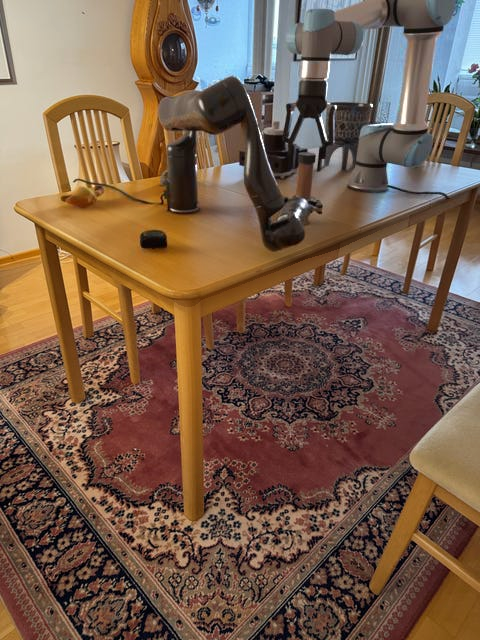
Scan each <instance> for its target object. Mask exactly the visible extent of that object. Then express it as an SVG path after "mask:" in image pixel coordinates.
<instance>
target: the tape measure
mask: <svg viewBox="0 0 480 640" xmlns="http://www.w3.org/2000/svg"><path fill="white" fill-rule="evenodd" d="M167 236H168V235H167V234H166V232H165V231H164V230H161V229H147V230H144V231H143V232H141V233H140V235H139V240H140V241H139V245H140V246H139V247H141V248H142V249H146V250H157V249H167V248H168V240H167V239H168V237H167Z"/></svg>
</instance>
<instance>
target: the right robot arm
mask: <svg viewBox="0 0 480 640" xmlns="http://www.w3.org/2000/svg"><path fill="white" fill-rule="evenodd" d="M456 5H457V4H456V0H362V1H358V2H357V3H354V4H351V5H349V6H346V7H344V8H341V9H339V10H335V11H334V9H332V8H310V9H308V10H306V11H305V13H304V19H303V22H298V23H293V24H291V25H290V26H289V27H288V29H287V31H286V33H285V45H286V48H287V50H288V51H289V52H290V53H292V54H295V55H300V56H301V57H300V65H299V79H300V80H299V81H298V91H297V92H298V93H297V98H296V101H295V102H289V103H288V102H287V103H286V104H285V110H286V115H285V122H284V126H283V128H284V131H283V137H282V141H283V142H286V144H288V156H291V161H290V169H293V168H295V158H296V145H297V143H295V141H296V138H297V136H298V134H299V132H300V130H301V127H302V125H303V123H304V121H305V119H313V120H314V121H315V123H316V127H317V131H318V133H319V139H320V143H321V145H320V146H319V147H318V156H317V166H316V172H318V173H320V172H321V171H322V166H323V160H324V159H325V158H326V155H327V147H328V146H330V145H333V144H334V143H335V112H336V109H337V106H336V105H334V106H333V105H330V104H327V103H328V100H327V93H328V85H329V84H328V81H327V80H328V79H329V75H330V65H331V55H339V56H340V55H341V56H350V55H351V56H352V55H355V54H357V52H359V51H360V50H361V48H362V46H363V44H364V39H365V30H369V29H370V30H378V29H380V28H386V27H388V28H389V27H390V28H391V27H394V28H395V27H396V28H397V27H398V28H399V27H400V28H403V31H402V32H403V33H402V35H403V36H404V37H405V39H406V40H407V41H406V48H405V49H406V50H405V51H406V52H405V59H404V65H403V76H402V83H401V93H400V101H399V109H398V117H397V121H396V122H395V123H394V124H393V123H377V124H376V123H375V124H374V123H373V124H369V125H365V126H363V127H362V128H361V132H360V136H359V143H358V151H357V158H356V165H355V166H354V167H353V171H351V174H350V176H349V179H348V180H347V181H348V182H347V187H348V188H349V189H351V190H354V191H358V192H363V193H364V192H365V193H382V192H386V191H388V189H393V190H396V191H399V192H402V193H406V194H411V195H441V196H443V197H444V198H445V199H446V200H450V197H449V195H448V194H447V193H445V192H442V191H412V190H407V189H405V188H404V189H403V188H400V187H397V186H394V185H391V184H389V178H388V173H387V172H388V171H387V166H388V164H391V165H397V166H400V167H403V168H413V169H414V168H419V167H421V166H420V165H421V164H422V163H424V161H425V162H426V160H427V159H428V158H429V155H430V154H431V151H432V148H433V145H434V137H433V135H432V134H431V133H430V132H428V131H429V124H428V123H427V122H426V120H425V119H426V113H427V106H428V100H429V93H430V87H431V79H432V73H433V65H434V61H435V60H434V59H435V52H436V46H437V40H438V37H439V36H441V34H442V33H443V32H444V27H445V26H446V25H448V24H450V22H451V21H452V20H453V16H454V14H455V11H456ZM296 109H297V110H298V112H299V115H298V117H297V120H296V123H295V125H294V127H293V130H292V132H291V126H292V122H293V116H294V111H296ZM326 109H327V113H329V141H327V137H326V133H325V126H324V125H325V124H324V122H323V115H322V114H323V112H325V111H326ZM290 133H291V134H290ZM297 146H298V145H297ZM427 157H428V158H427ZM424 164H425V163H424Z"/></svg>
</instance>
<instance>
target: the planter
mask: <svg viewBox="0 0 480 640" xmlns="http://www.w3.org/2000/svg"><path fill="white" fill-rule="evenodd" d="M327 104H330V105H333V106H334V105H336V106H337V109H336V112H335V143H334V144H333V145H330V146H328V147H327V155H326V158H325V159H323V165H325V166H328V165H330V163H331V158H332V156H333V154H334V153H335V151H336V150H337V149H340V148H341V150H342V153H341V166H340V170H341V172H345V171H347V167H348V166H347V165H348V159H349V152H350V154H351V157H352V158H351V159H352V160H351V161H352V166H353V167H355V165H356V158H357V151H358V143H359V136H360V132H361V128H362V127H363V126H365V125H370V121H371V116H372V112H373V107H374V106H373V104H372V103H367V102H353V101H333V102H327ZM324 125H325V126H324V129H325V133H326V137H327V141H329V113H327V108H325V124H324Z"/></svg>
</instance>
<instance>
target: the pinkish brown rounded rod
mask: <svg viewBox="0 0 480 640" xmlns="http://www.w3.org/2000/svg"><path fill="white" fill-rule="evenodd" d="M314 165H315V163H313V164H303V163H298V171H297V176H296V177H297V179H296V188H295V195H296V197H300V198H303V199H305V200H306V199H310V198H311V196H312V186H313V177H314V176H313V175H314ZM308 223H309V219H308V220H307V222H306V223H305V225H308Z"/></svg>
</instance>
